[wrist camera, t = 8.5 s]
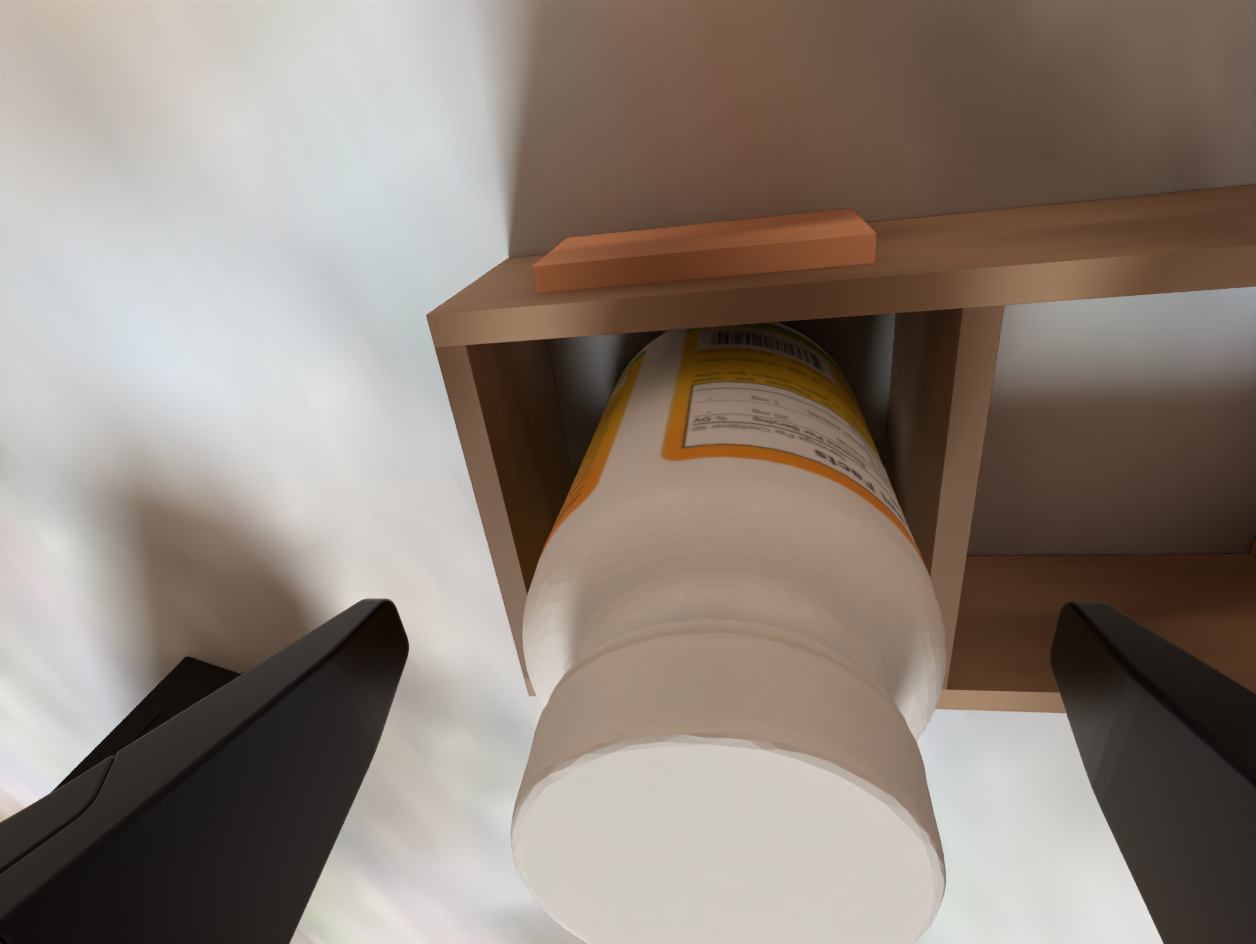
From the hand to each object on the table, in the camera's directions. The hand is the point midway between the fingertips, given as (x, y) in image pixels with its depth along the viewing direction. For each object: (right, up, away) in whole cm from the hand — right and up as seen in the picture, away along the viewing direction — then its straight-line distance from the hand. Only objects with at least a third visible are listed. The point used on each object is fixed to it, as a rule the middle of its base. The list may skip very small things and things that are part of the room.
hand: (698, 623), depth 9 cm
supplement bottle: (+1, +3, +6) cm, 7 cm away
